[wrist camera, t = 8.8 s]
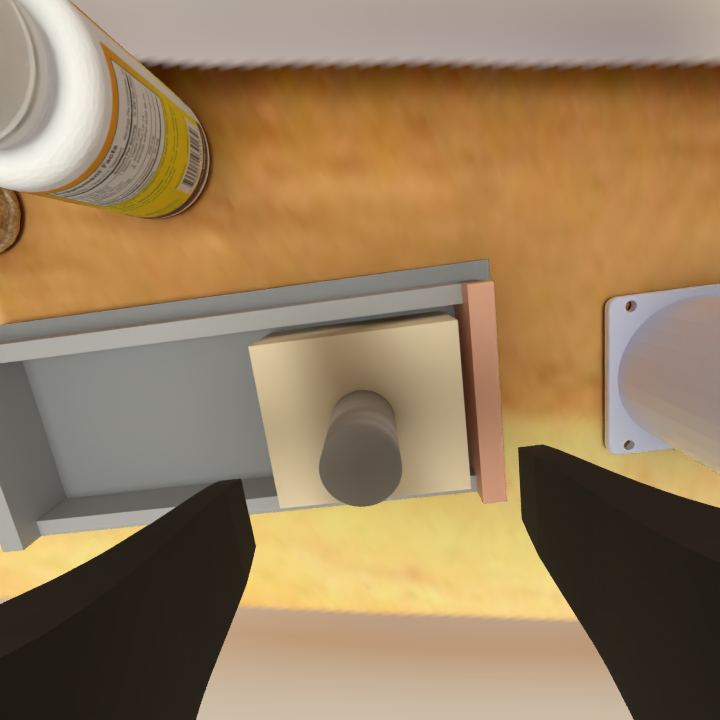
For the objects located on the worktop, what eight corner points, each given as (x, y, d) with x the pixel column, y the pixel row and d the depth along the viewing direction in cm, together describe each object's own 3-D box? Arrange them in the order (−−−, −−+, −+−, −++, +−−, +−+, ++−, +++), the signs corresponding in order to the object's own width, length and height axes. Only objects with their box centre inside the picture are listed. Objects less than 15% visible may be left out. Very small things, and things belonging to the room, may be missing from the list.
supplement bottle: (71, 127, 18) (-295, -46, 8) (174, 65, 18) (-87, -205, 8) (136, 242, 19) (-117, 212, 9) (236, 188, 19) (80, 94, 9)
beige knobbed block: (441, 310, 18) (488, 337, 11) (453, 450, 20) (502, 557, 12) (271, 332, 19) (205, 372, 11) (295, 467, 20) (252, 580, 13)
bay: (482, 259, 19) (511, 257, 15) (496, 470, 21) (523, 516, 17) (5, 324, 20) (-82, 337, 16) (68, 515, 23) (4, 567, 19)
